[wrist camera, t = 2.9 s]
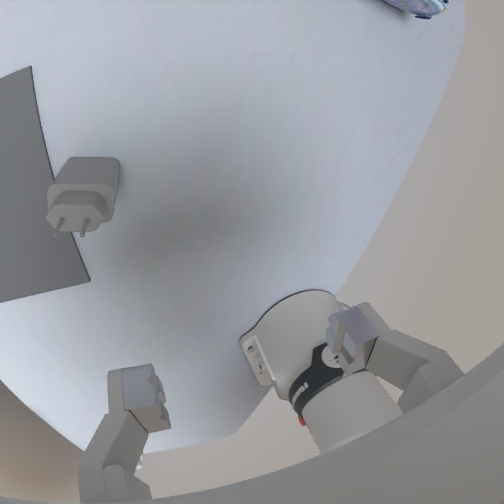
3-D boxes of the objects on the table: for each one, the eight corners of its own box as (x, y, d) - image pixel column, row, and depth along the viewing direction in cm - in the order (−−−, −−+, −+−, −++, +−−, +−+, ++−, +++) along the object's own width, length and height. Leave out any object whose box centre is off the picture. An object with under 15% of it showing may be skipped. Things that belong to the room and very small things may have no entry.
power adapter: (66, 156, 25) (27, 213, 15) (120, 158, 27) (109, 214, 17) (66, 187, 26) (33, 256, 17) (118, 188, 28) (109, 257, 19)
